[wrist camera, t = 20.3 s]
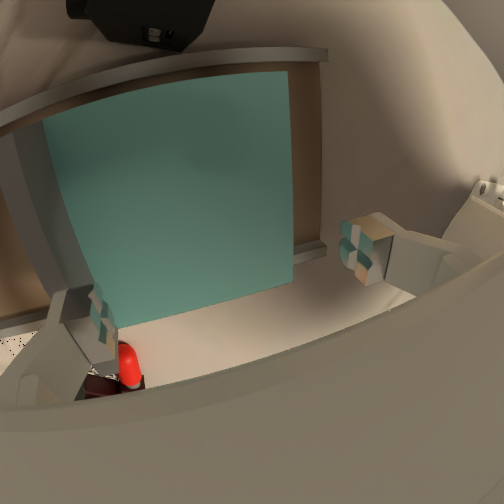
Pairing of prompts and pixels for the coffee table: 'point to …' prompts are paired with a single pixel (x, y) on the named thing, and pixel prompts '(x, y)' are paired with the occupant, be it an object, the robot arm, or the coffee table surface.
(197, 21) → the digital camera
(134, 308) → the grey-edged teal panel
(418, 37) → the coffee table surface
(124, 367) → the toy gun
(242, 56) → the cart track
